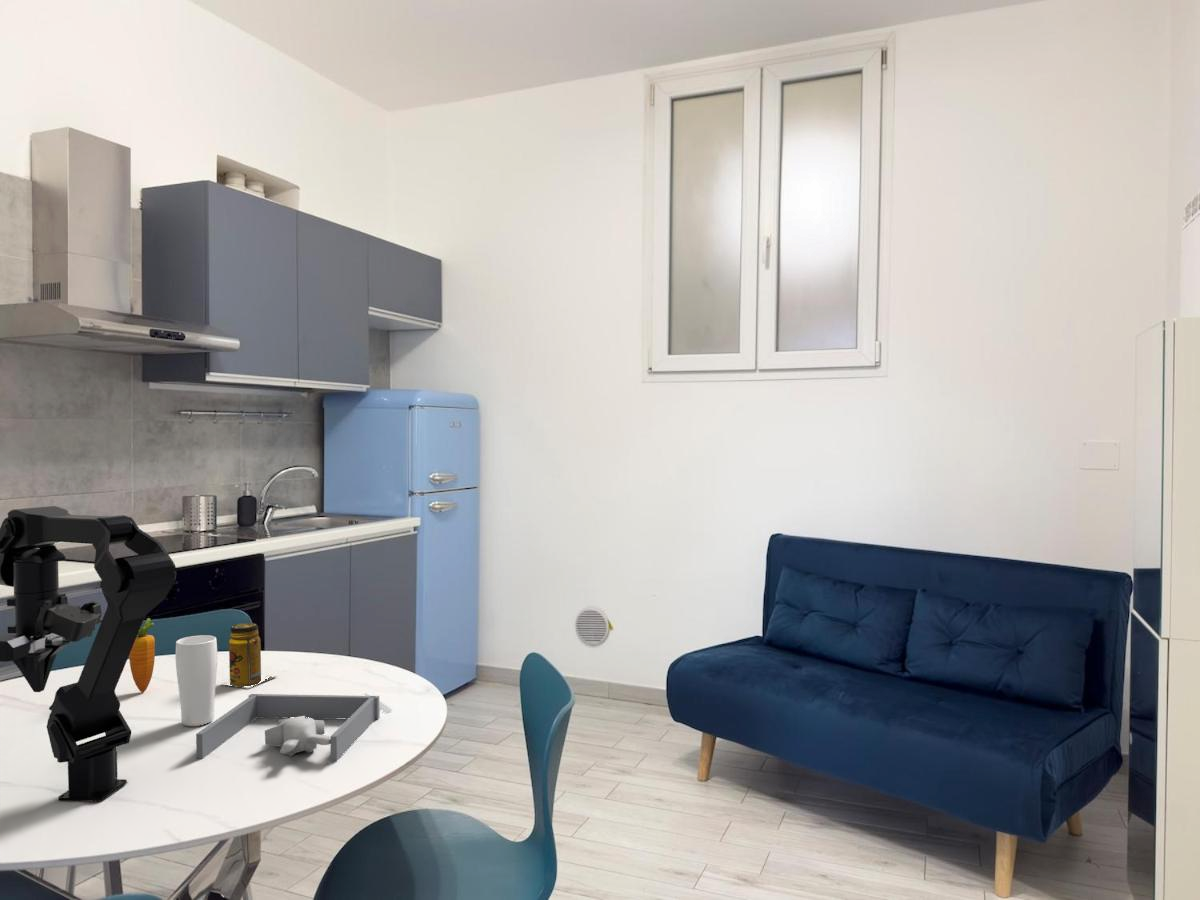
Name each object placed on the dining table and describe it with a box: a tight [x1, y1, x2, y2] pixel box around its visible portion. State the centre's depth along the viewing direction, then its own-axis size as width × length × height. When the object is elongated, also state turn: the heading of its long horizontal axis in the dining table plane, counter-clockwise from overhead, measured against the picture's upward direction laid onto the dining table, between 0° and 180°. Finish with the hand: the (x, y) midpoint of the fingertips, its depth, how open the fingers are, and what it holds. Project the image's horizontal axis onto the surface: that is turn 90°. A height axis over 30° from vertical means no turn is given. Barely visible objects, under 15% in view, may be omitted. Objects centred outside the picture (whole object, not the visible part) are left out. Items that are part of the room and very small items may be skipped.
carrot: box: [128, 617, 156, 693], centre depth 171 cm, size 5×5×15 cm
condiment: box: [223, 622, 278, 690], centre depth 178 cm, size 7×8×12 cm
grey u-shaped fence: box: [195, 693, 381, 762], centre depth 147 cm, size 20×24×4 cm
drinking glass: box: [175, 634, 218, 727], centre depth 154 cm, size 7×7×15 cm
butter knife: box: [362, 693, 393, 713], centre depth 170 cm, size 1×27×3 cm
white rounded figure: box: [264, 716, 331, 756], centre depth 141 cm, size 10×5×15 cm
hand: (38, 691), depth 131 cm, fingers closed
